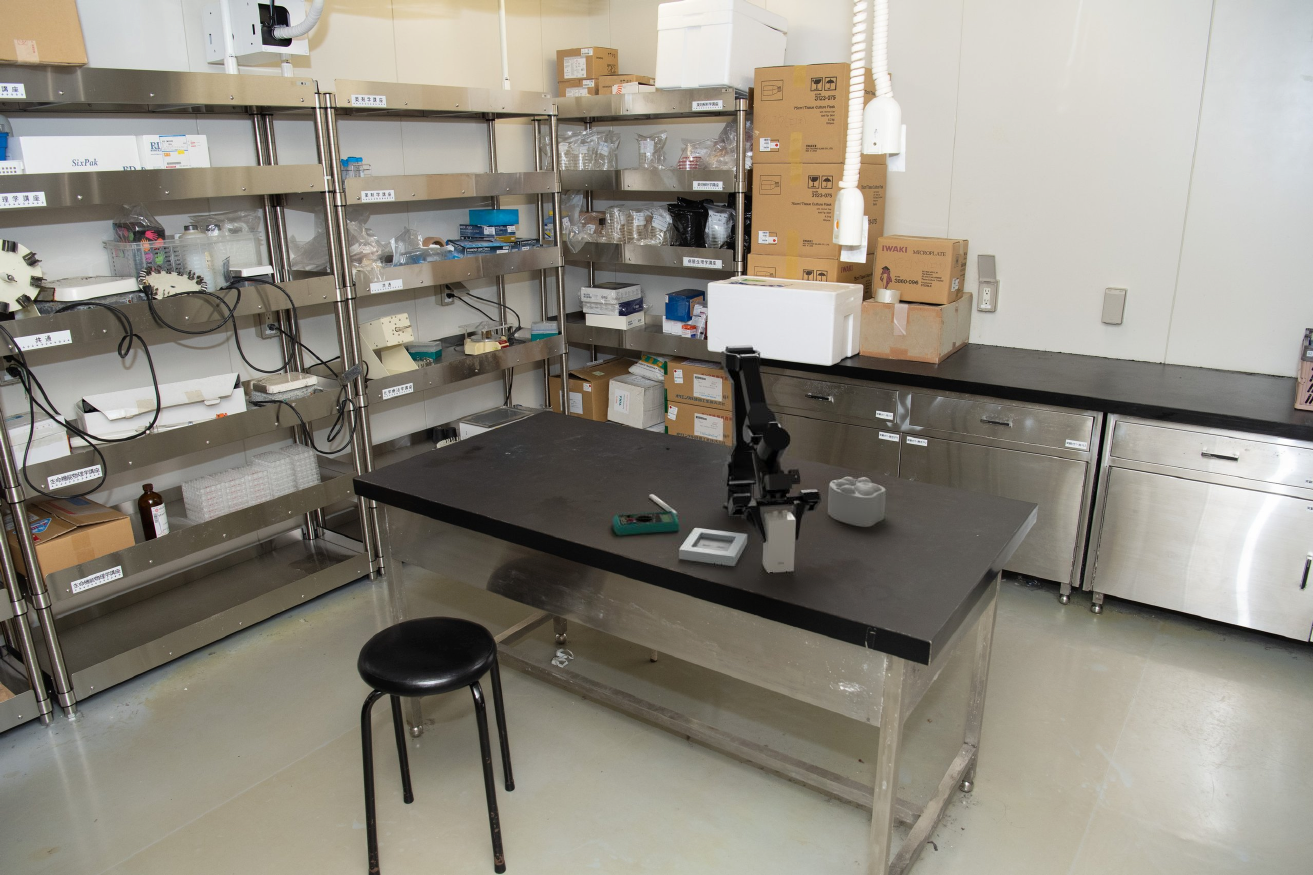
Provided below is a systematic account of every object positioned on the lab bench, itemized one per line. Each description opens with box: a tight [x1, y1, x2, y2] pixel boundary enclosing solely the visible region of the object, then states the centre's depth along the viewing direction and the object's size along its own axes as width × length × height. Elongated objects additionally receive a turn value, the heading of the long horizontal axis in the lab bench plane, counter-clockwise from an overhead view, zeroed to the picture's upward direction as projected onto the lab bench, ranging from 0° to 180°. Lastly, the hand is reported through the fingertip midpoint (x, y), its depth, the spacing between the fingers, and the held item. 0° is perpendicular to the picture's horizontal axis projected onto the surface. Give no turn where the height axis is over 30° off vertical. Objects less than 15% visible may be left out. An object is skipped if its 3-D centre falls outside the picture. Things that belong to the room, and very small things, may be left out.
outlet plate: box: [678, 527, 748, 567], centre depth 187 cm, size 12×12×2 cm
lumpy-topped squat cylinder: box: [827, 476, 887, 528], centre depth 205 cm, size 10×13×9 cm
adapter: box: [762, 509, 796, 574], centre depth 177 cm, size 4×6×13 cm
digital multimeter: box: [612, 510, 680, 536], centre depth 200 cm, size 7×15×3 cm, turn 99°
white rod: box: [649, 493, 678, 516], centre depth 212 cm, size 13×1×1 cm, turn 26°
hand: (780, 541), depth 176 cm, fingers open, 6 cm apart
